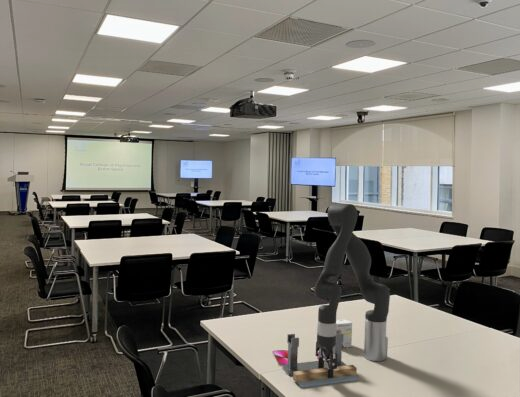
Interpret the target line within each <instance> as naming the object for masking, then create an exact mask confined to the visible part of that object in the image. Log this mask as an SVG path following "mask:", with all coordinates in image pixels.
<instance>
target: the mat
mask: <svg viewBox="0 0 520 397" xmlns="http://www.w3.org/2000/svg"><path fill="white" fill-rule="evenodd" d="M358 380H359V378H358V377H357V375H354V376H346V377H338V378H330V379H322V380H314V381H306V382H298V383H297V384H298V386H299V387H300V388H309V387H317V386H324V385H332V384H333V385H334V384H340V383H348V382H355V381H356V382H357V381H358Z"/></svg>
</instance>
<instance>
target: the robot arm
mask: <svg viewBox="0 0 520 397" xmlns="http://www.w3.org/2000/svg"><path fill="white" fill-rule="evenodd" d="M327 218H328V222H329V224H330V226H331V228H332V230H333V231H334V233H335V234H336V236H337V238H336V239H335V241H334V242H333V243H332V244H331V246H330V247H329V248H328V249H327V250H328V251H327V253H326V256H325V259H324V265H323V268H322V269H323V270H322V271H321V273H320V275H319V277H318V279H317V281H316V283H315V286H314V290H313V291H314V292H313V293H314V295H315V297H316V298H317V299H318V300H324V301H329V303H328V304H321V305H320V306H319V307H318V309H317V310H318V313H317V327H316V342H315V357H317V361H318V369H321V368H324V360H325V363H327V367H328V371H327V377H328V378H333V371H334V369H337V353H333V347H334V346H335V345H336V331H337V327H336V320H337V312H338V306H339V303H340V300H341V298H342V292H343V290H342V287H341V285H340V284H339V283H337V282H331V281H330V280H331V279H332V278H333V279H334V278H339V277H340V276H341V274H342V270H343V264H344V259H345V255H346V257H347V259H348V262H349V264H350V266H351V268H352V270H353V273H354V275H355V277H356V280H357V283H358V286H359V290H360V292H361V295H362V298H363V299H364V300H365V301H366V302H367V303H370V304H373V305H374V307H373V309H369V310H367V311H365V316H364V317H365V318H364V319H365V320H364V342H363V344H364V345H363V357H364V358H365V359H366V360H370V361H372V362H381V361H382V362H383V361H385V360H387V359H388V345H389V337H388V336H387V319H388V315H389V312H390V311H389V309H390V300H391V293H390V288H389V287H388V286H387V285H385V284H381V283H378V282H375V281H374V280H373V278H372V276H371V274H370V269H371V267H372V266H371V265H372V256H371V253H370V251H369V249H368V247H367V245H366V244H365V242H363V241H362V240H361V239H360V238H359V237H358V236H357V235H356V234H354V230H355V228H356V224H357V221H358V209H357V207H356V206H355V205H353V204H351V203H339V204H332V205H330V206H329V207H328V209H327ZM329 363H330V365H329Z"/></svg>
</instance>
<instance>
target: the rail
mask: <svg viewBox="0 0 520 397" xmlns="http://www.w3.org/2000/svg"><path fill="white" fill-rule="evenodd" d="M327 371H328V368H321V369H312V370H303V371H295V372H293V375H292V380H293V381H294V382H295V383H296V384H298V382H306V381H314V380H322V379H330V378H328V377H327ZM346 376H357V367H356V366H355V365H354V364H349V365H347V364H346V366H338V367H337V369H334V371H333V378H338V377H346Z"/></svg>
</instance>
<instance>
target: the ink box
mask: <svg viewBox="0 0 520 397" xmlns="http://www.w3.org/2000/svg"><path fill="white" fill-rule="evenodd" d="M336 327H337V330H339V332H338V334H342V333H343V334H344V335H343V342H342V349H344V348H351V347H352V339H353V337H352V336H353V322H352V321H350V320H349V319H336Z"/></svg>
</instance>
